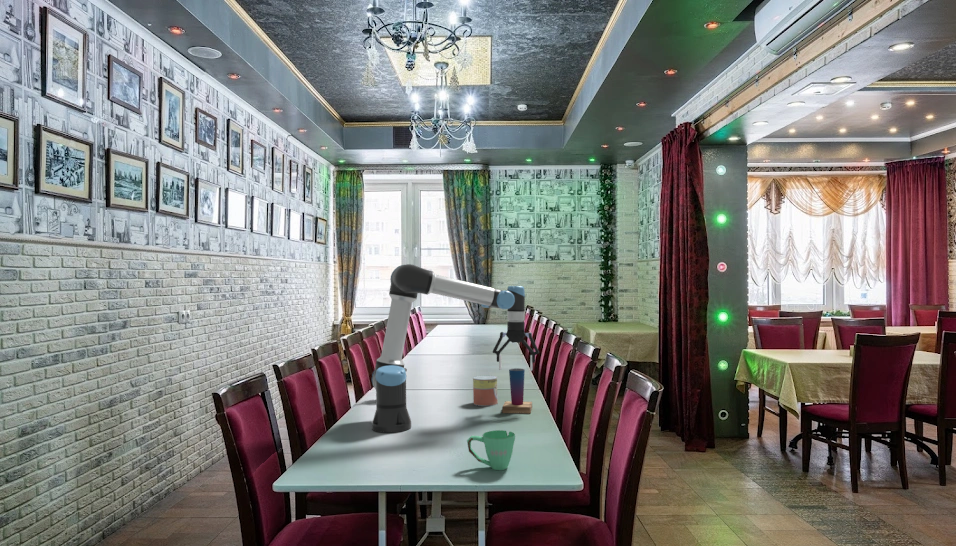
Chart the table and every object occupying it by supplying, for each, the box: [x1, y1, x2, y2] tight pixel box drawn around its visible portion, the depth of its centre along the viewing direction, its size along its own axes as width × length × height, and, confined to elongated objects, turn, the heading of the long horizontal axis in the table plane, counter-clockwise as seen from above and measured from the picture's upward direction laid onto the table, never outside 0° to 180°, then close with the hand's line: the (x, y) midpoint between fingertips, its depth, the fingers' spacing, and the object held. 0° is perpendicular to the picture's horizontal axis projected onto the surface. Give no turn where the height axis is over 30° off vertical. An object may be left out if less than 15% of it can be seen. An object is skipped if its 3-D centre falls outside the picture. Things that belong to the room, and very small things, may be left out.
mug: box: [466, 429, 516, 471], centre depth 177 cm, size 15×10×10 cm
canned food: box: [472, 375, 499, 407], centre depth 271 cm, size 11×11×12 cm
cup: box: [508, 367, 526, 405], centre depth 255 cm, size 7×7×15 cm
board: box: [501, 400, 533, 414], centre depth 255 cm, size 12×12×3 cm
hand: (515, 370), depth 255 cm, fingers open, 13 cm apart
